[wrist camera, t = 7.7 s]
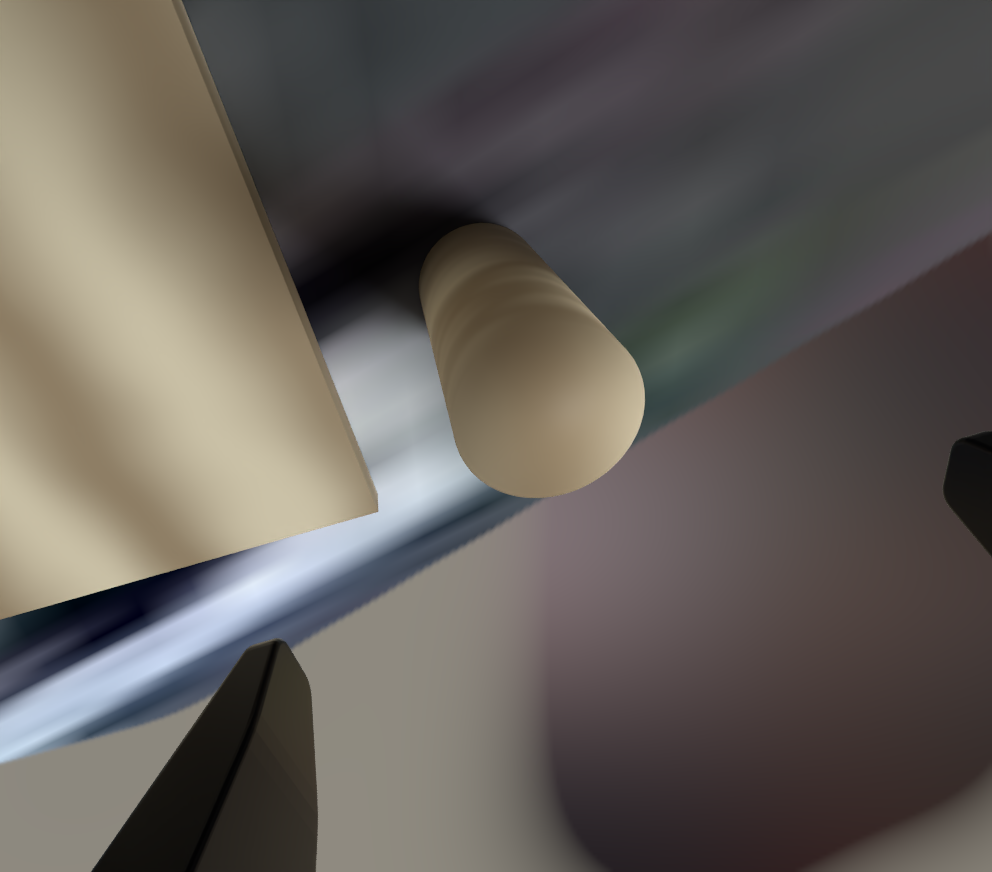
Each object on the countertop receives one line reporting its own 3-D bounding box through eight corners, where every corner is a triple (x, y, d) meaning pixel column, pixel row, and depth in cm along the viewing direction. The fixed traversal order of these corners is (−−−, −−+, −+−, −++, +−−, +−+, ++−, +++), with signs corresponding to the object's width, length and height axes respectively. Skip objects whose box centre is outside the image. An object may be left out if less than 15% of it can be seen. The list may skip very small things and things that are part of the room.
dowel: (529, 208, 17) (636, 299, 11) (549, 327, 19) (652, 469, 12) (403, 241, 17) (429, 355, 10) (437, 358, 19) (477, 518, 12)
